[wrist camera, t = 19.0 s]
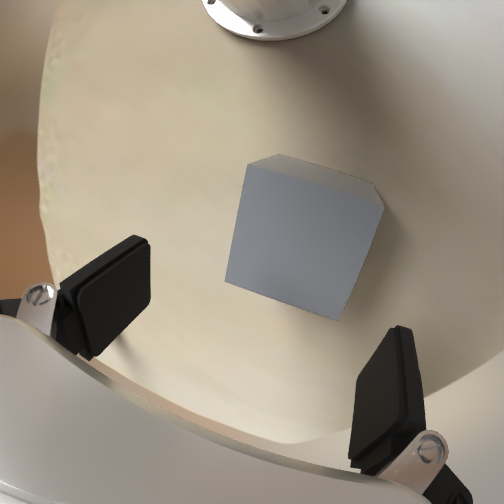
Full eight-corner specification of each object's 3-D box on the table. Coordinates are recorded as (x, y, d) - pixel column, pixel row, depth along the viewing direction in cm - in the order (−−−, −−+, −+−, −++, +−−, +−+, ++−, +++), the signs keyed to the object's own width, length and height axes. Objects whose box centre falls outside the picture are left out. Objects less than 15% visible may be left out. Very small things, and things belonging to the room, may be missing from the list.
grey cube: (278, 154, 22) (247, 164, 15) (372, 183, 21) (385, 207, 14) (258, 239, 26) (224, 281, 19) (342, 267, 24) (337, 320, 17)
